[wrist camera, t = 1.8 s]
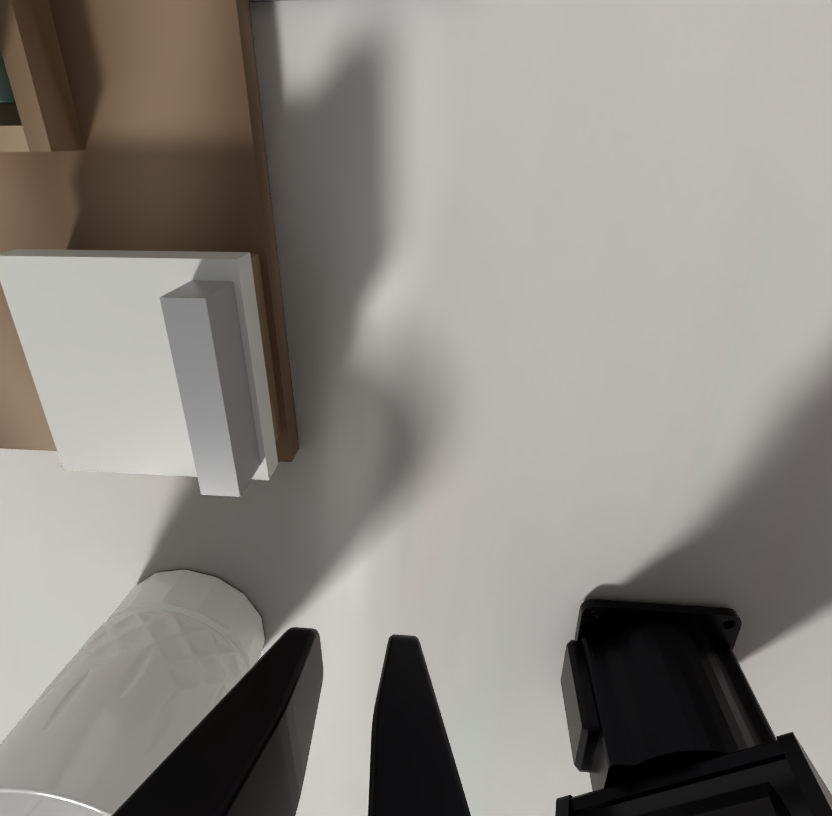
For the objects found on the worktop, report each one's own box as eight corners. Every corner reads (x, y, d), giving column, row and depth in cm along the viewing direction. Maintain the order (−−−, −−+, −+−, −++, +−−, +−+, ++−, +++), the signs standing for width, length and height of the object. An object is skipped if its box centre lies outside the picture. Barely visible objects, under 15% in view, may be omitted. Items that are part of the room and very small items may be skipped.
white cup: (245, 548, 25) (116, 784, 16) (298, 671, 28) (217, 923, 19) (90, 566, 26) (-108, 793, 17) (158, 681, 29) (21, 921, 20)
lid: (250, 252, 16) (209, 274, 14) (278, 464, 19) (249, 513, 17) (17, 248, 17) (-63, 269, 14) (81, 455, 20) (25, 501, 17)
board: (229, -169, 14) (183, -225, 12) (298, 448, 22) (279, 483, 20) (-200, -146, 15) (-317, -194, 13) (15, 435, 23) (-34, 468, 21)
